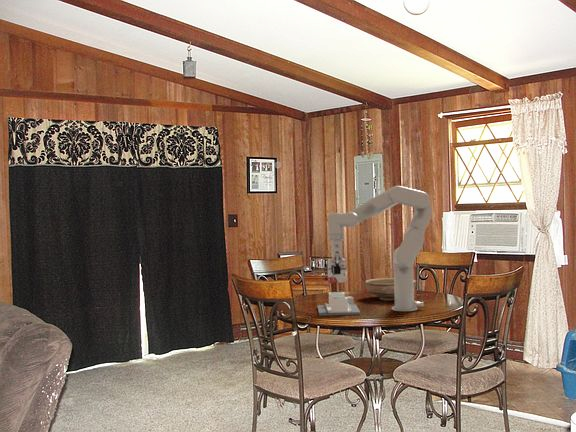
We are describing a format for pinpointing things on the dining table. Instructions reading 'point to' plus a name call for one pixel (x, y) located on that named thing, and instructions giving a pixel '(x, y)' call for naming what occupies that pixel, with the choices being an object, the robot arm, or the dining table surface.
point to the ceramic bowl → (382, 288)
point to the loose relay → (350, 300)
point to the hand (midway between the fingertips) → (336, 273)
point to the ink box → (336, 277)
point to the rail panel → (324, 310)
